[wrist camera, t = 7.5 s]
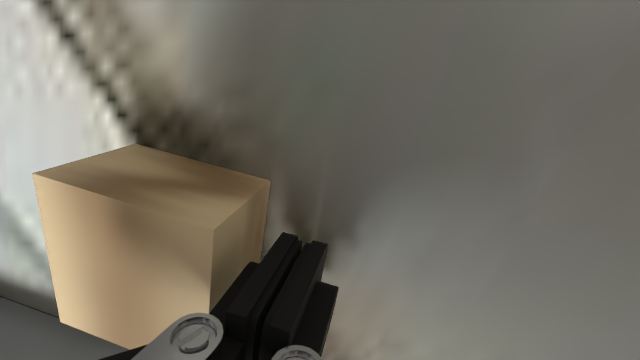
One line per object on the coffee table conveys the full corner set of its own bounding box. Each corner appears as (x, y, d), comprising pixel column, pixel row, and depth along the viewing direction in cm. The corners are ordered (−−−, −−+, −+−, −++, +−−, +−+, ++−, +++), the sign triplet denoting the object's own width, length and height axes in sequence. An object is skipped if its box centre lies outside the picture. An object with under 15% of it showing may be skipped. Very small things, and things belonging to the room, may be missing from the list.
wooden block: (271, 180, 12) (213, 229, 8) (255, 299, 14) (205, 379, 10) (137, 143, 13) (32, 173, 9) (142, 260, 15) (60, 321, 11)
